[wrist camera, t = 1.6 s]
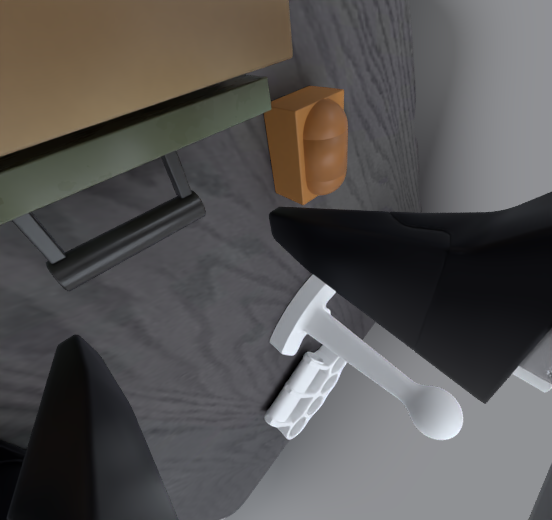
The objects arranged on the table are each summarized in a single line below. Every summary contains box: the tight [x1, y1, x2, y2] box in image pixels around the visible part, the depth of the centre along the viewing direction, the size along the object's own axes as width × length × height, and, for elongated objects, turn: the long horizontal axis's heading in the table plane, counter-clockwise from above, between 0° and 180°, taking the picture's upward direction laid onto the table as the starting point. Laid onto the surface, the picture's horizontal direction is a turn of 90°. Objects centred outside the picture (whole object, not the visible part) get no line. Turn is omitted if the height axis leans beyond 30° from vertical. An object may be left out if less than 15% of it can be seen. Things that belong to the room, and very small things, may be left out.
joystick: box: [270, 275, 463, 440], centre depth 33 cm, size 11×8×20 cm
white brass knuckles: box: [264, 345, 347, 439], centre depth 49 cm, size 3×18×15 cm
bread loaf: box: [264, 86, 348, 205], centre depth 23 cm, size 7×5×5 cm
